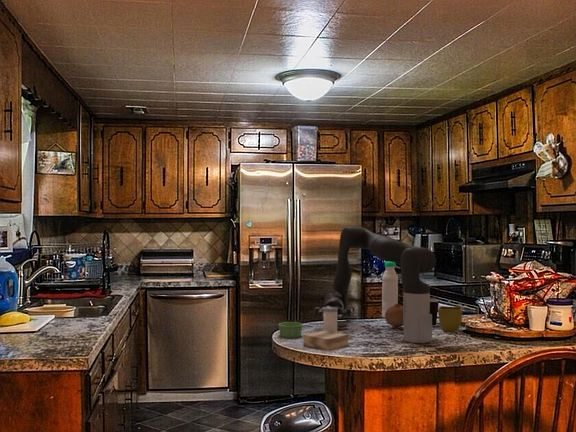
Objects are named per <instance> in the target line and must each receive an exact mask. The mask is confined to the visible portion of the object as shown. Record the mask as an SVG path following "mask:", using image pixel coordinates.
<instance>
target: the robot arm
mask: <svg viewBox="0 0 576 432" xmlns="http://www.w3.org/2000/svg"><path fill="white" fill-rule="evenodd" d="M339 235H340V236H339V244H338V253H337V254H338V255H337V264H336V270H335V275H334V278H333V281H332V289H333V290H334V291H335V292H337V293H333V292H329V293H327V294H326V296H325V298H324V306H323V307H320V306H315V308H314V316H319V317H320V318H322V317H324V311H323V308H324V307H336V308H338V311H337V319H339V318H340V317H341V318H344V317H351V314H352V312H351V310H352V309H351V307H349V288H350V283H351V280H352V274H353V273H352V268H351V265H350V261H349V252H350V249H363V250H370V253H371V254H372V256H374V257H375V258H377V259H380V260H382V261H385V262H387V261H389V262H395V264H396V263H398V264H400V273H401V275H400V276H401V284H402V287H403V291H402V292H403V295H402V296H403V299H402V300H403V301H402V302H403V303H402V304H403V305H402V306H403V326H402V327H403V330H402V331H403V332H402V335H403V336H402V337H403V341H405V342H407V343H416V344H426V343H431V342H432V341H433V326H432V314H430V299H431V295H430V294H431V287H430V285H429V284H428V283H426V282H423V281H422V280H421V279H420V274H427V273H430V272H431V271H433V270H434V268H435V267H436V263H437V259H436V256H435V254H434V253H433V251H432V250H431V249H429V248H428V247H422V246H421V247H420V246H416V245H410V244H408V243H406V242H403V241H400V240H399V239H395V238H392V237H390V236H387V235H383V234H378V233H374V232H372V231H371V230H369V229H367V228H364V227H362V226H345V227H344V228H343V229H342V230H341V231H340V234H339ZM338 293H339V294H338Z"/></svg>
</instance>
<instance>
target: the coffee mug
mask: <svg viewBox="0 0 576 432" xmlns="http://www.w3.org/2000/svg"><path fill="white" fill-rule="evenodd" d="M439 303H440V300H438V299H434V298H430V314H432V327H434V326H436V325H437V322H438V308H439Z"/></svg>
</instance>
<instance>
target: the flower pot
mask: <svg viewBox="0 0 576 432" xmlns="http://www.w3.org/2000/svg"><path fill="white" fill-rule="evenodd" d="M437 317H438V323H439V325H440V327H441V330H442V331H443V332H451V333H453V332H454V333H456V332H458V331H459V329H460V326H461V325H462V319H463V306H449V305H448V306H447V305H446V306H445V305H440V306H438V314H437Z"/></svg>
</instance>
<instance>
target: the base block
mask: <svg viewBox="0 0 576 432" xmlns="http://www.w3.org/2000/svg"><path fill="white" fill-rule="evenodd" d="M302 344H303V346H306V347H312V348H316V349H322V350H327V351H330V350H333V349H338V348H342V347H345V346H349V334H346V333H341V332H337V333H336V332H330V331H324V329H323V330H319V331H315V332H310V333H306V334H303V338H302Z"/></svg>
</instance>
